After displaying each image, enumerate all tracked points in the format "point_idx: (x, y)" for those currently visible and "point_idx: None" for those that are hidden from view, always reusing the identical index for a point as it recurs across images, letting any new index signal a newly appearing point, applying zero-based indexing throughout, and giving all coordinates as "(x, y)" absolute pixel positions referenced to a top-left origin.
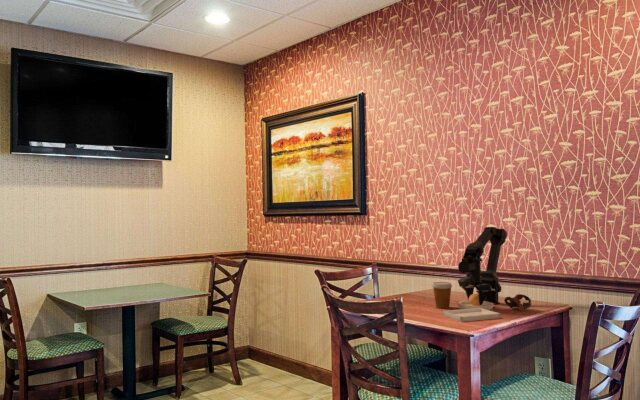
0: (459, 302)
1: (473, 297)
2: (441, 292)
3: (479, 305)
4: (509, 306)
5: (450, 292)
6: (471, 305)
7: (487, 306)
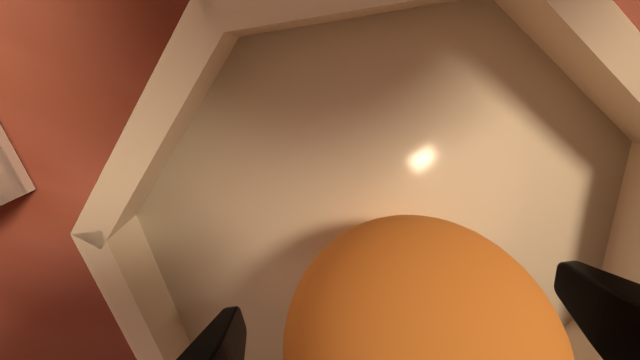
0: (616, 46)
1: (337, 352)
2: None
3: None
4: None
5: None
6: None
7: (145, 353)
